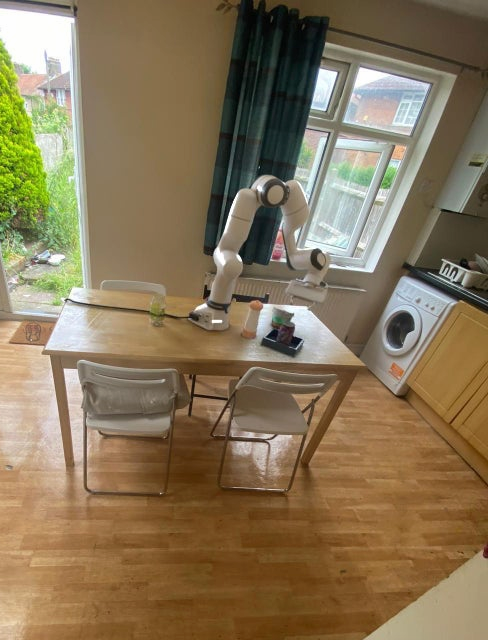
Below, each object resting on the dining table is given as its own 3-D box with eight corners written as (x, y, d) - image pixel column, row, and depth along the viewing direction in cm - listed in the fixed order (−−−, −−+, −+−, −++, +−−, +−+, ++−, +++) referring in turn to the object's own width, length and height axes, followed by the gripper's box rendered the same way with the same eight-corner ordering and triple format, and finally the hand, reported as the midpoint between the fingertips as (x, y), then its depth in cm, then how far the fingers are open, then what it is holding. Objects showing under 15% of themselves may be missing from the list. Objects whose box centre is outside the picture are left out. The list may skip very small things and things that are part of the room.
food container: (265, 326, 187) (270, 309, 181) (268, 322, 192) (273, 306, 185) (286, 333, 183) (292, 316, 177) (289, 329, 188) (295, 312, 182)
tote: (260, 344, 169) (263, 337, 166) (270, 334, 179) (273, 327, 176) (293, 357, 163) (296, 349, 160) (302, 346, 173) (304, 339, 170)
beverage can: (272, 342, 172) (279, 321, 164) (283, 341, 175) (290, 320, 167) (280, 349, 167) (287, 327, 160) (291, 347, 170) (299, 326, 162)
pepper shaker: (246, 330, 180) (255, 296, 168) (257, 335, 177) (267, 301, 165) (239, 334, 175) (247, 299, 163) (250, 339, 172) (260, 304, 160)
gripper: (292, 274, 170) (280, 298, 170) (331, 285, 163) (319, 310, 163) (292, 281, 176) (280, 303, 176) (330, 292, 169) (318, 316, 168)
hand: (299, 307), depth 169 cm, fingers open, 8 cm apart
